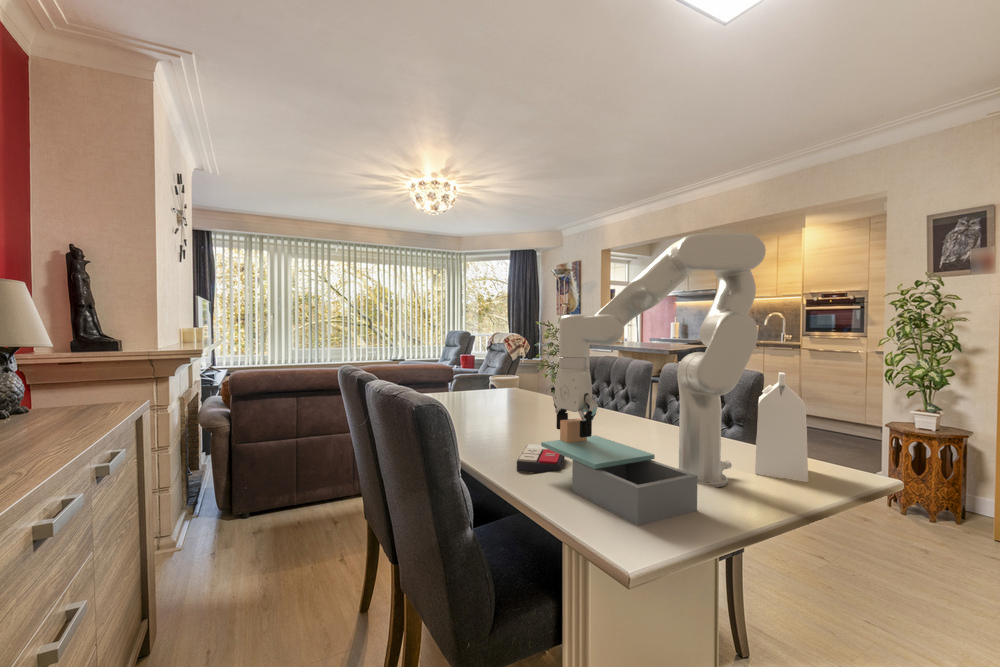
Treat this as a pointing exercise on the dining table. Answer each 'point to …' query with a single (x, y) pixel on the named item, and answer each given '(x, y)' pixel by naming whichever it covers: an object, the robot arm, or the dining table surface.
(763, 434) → the milk
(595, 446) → the lid
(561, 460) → the calculator
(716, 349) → the robot arm
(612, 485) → the tub
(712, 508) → the dining table surface
